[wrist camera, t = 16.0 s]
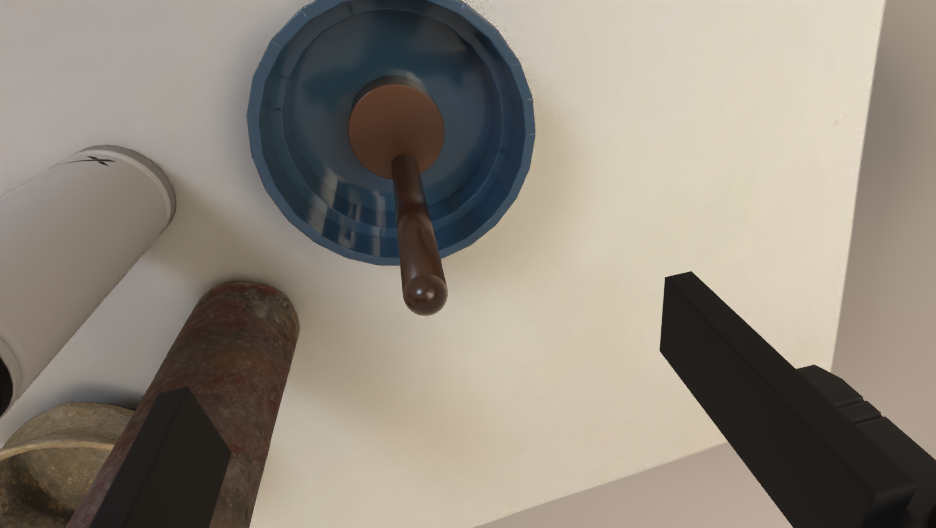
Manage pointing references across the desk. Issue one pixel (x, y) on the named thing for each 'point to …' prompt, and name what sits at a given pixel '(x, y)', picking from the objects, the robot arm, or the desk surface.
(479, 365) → the desk surface
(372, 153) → the ladle
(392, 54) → the mixing bowl
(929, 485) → the robot arm
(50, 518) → the bowl
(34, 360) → the travel mug
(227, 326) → the brown cylinder
